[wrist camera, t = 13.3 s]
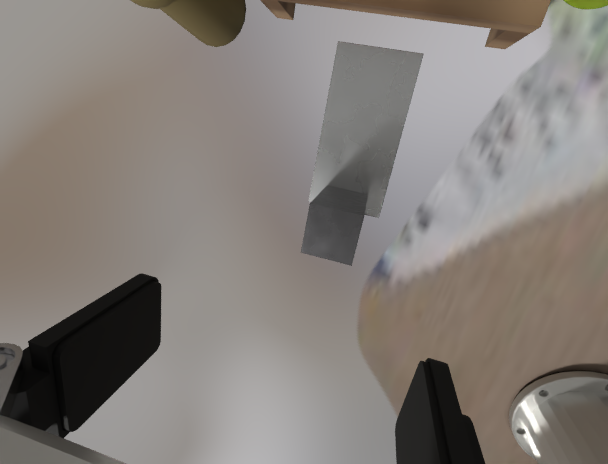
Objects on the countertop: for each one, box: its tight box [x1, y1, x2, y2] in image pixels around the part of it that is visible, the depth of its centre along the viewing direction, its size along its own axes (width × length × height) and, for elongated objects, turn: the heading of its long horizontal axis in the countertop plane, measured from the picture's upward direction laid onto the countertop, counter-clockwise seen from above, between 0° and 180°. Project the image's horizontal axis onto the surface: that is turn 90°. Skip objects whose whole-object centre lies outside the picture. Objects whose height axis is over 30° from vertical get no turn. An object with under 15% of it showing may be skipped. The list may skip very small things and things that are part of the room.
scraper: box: [301, 42, 423, 266], centre depth 25 cm, size 16×7×9 cm, turn 170°
